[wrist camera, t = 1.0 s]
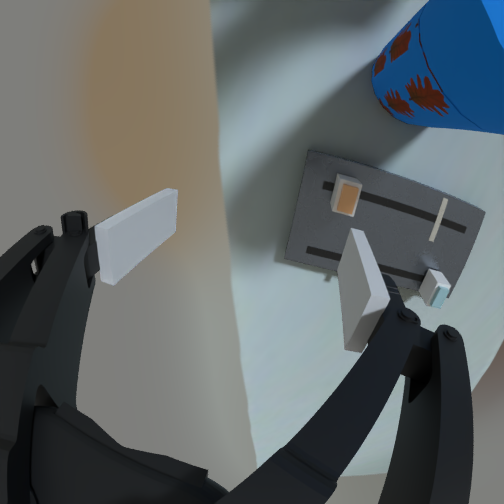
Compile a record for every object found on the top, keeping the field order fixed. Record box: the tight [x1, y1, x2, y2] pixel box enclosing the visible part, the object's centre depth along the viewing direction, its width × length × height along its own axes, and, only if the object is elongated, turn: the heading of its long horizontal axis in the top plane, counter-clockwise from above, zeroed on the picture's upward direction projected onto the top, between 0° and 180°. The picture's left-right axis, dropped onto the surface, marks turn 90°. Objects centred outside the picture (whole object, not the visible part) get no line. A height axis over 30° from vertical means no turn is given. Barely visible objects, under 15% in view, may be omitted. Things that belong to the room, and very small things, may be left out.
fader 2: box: [419, 269, 451, 308], centre depth 30 cm, size 4×2×4 cm, turn 171°
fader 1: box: [330, 173, 362, 217], centre depth 28 cm, size 4×2×4 cm, turn 171°
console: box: [284, 150, 485, 298], centre depth 32 cm, size 15×26×2 cm, turn 80°
